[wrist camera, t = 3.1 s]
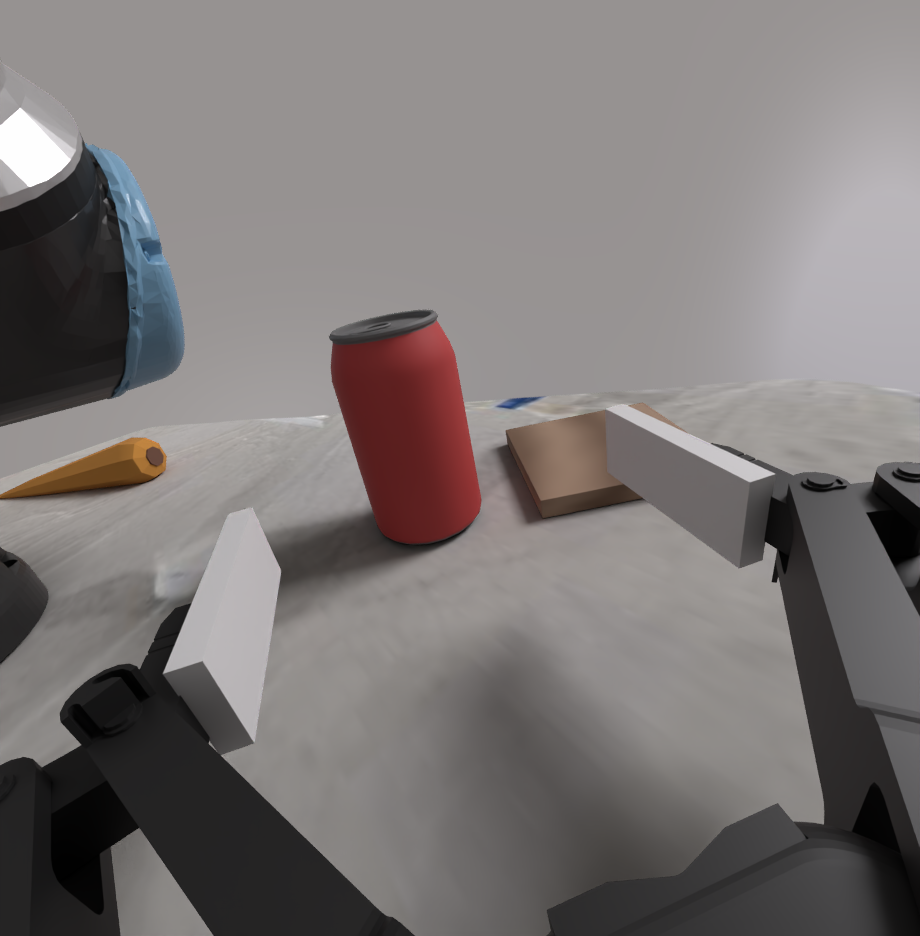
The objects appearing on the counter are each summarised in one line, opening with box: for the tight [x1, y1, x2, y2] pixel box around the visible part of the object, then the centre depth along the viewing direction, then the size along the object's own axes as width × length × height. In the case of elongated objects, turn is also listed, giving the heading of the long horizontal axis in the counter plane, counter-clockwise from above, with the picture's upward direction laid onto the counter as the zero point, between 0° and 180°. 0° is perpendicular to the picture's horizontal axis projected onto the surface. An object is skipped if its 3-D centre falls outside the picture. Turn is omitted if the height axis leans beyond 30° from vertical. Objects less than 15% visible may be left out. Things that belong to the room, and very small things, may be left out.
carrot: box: [0, 438, 167, 499], centre depth 44 cm, size 20×4×4 cm, turn 87°
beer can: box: [329, 310, 481, 545], centre depth 25 cm, size 7×7×12 cm
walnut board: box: [506, 403, 689, 518], centre depth 31 cm, size 11×11×1 cm
